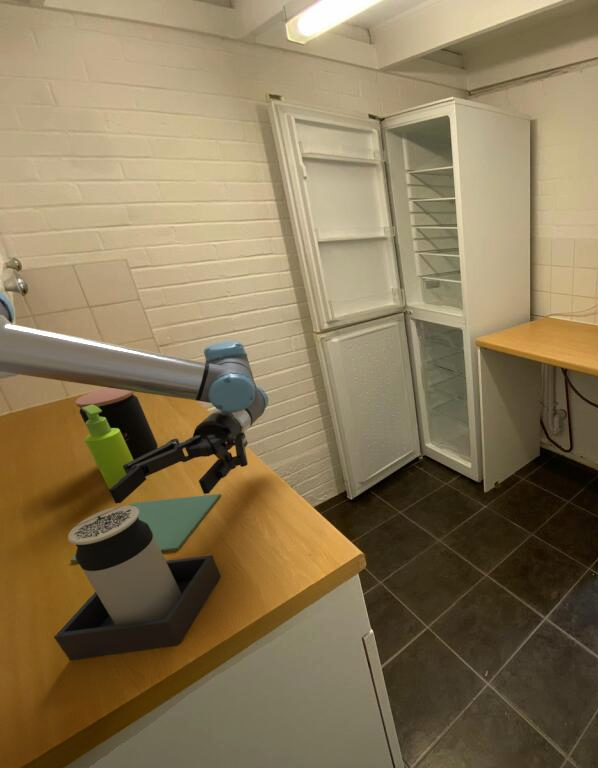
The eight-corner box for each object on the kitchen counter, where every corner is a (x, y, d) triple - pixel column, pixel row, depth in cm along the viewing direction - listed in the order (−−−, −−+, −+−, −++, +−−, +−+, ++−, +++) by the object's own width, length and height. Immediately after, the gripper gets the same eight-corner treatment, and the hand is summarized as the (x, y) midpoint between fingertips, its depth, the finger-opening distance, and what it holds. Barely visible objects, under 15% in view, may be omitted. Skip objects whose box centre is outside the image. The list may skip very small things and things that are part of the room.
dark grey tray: (69, 660, 59) (53, 637, 57) (130, 587, 70) (118, 566, 68) (179, 645, 61) (167, 622, 59) (221, 576, 72) (212, 554, 70)
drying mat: (71, 562, 76) (69, 560, 76) (132, 505, 90) (131, 502, 90) (178, 550, 78) (177, 547, 78) (221, 495, 92) (220, 493, 92)
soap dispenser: (116, 494, 94) (76, 416, 86) (104, 485, 97) (65, 409, 89) (147, 481, 98) (112, 405, 90) (135, 472, 102) (101, 398, 94)
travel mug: (188, 610, 65) (144, 521, 58) (122, 647, 60) (65, 553, 53) (177, 582, 71) (136, 496, 63) (115, 613, 65) (63, 524, 58)
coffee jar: (94, 468, 104) (61, 403, 97) (135, 445, 114) (108, 385, 106) (131, 470, 102) (101, 405, 95) (170, 447, 112) (144, 386, 105)
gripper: (289, 438, 91) (246, 501, 72) (165, 450, 88) (86, 518, 69) (280, 407, 88) (233, 464, 69) (152, 418, 85) (65, 481, 66)
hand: (159, 492), depth 69 cm, fingers open, 13 cm apart
